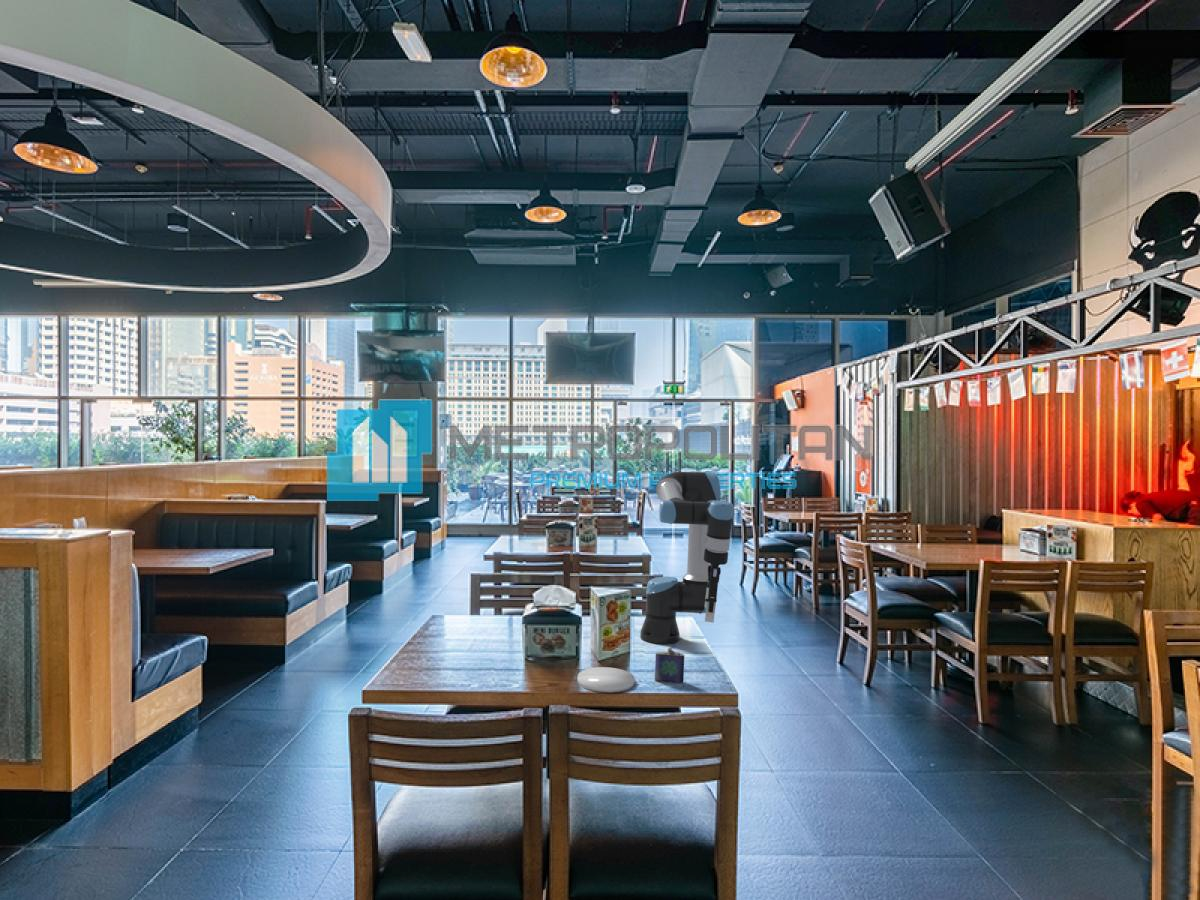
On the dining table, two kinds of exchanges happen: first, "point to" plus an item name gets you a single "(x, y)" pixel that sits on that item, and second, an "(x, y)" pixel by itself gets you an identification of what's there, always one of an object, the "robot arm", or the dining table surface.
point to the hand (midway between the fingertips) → (708, 614)
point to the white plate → (606, 679)
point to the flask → (669, 667)
